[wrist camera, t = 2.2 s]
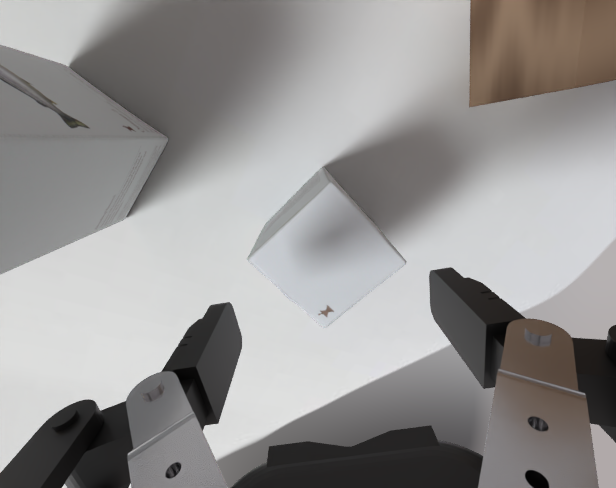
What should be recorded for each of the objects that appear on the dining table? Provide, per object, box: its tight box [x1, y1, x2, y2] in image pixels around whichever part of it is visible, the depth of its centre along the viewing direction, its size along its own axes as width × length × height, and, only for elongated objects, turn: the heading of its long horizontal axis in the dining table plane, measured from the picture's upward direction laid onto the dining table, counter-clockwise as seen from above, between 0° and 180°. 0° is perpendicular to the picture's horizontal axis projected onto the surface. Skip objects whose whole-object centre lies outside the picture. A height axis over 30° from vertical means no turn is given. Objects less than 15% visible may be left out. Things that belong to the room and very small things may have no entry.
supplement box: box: [0, 45, 168, 274], centre depth 14 cm, size 7×7×13 cm
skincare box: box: [247, 167, 406, 328], centre depth 18 cm, size 6×6×7 cm
